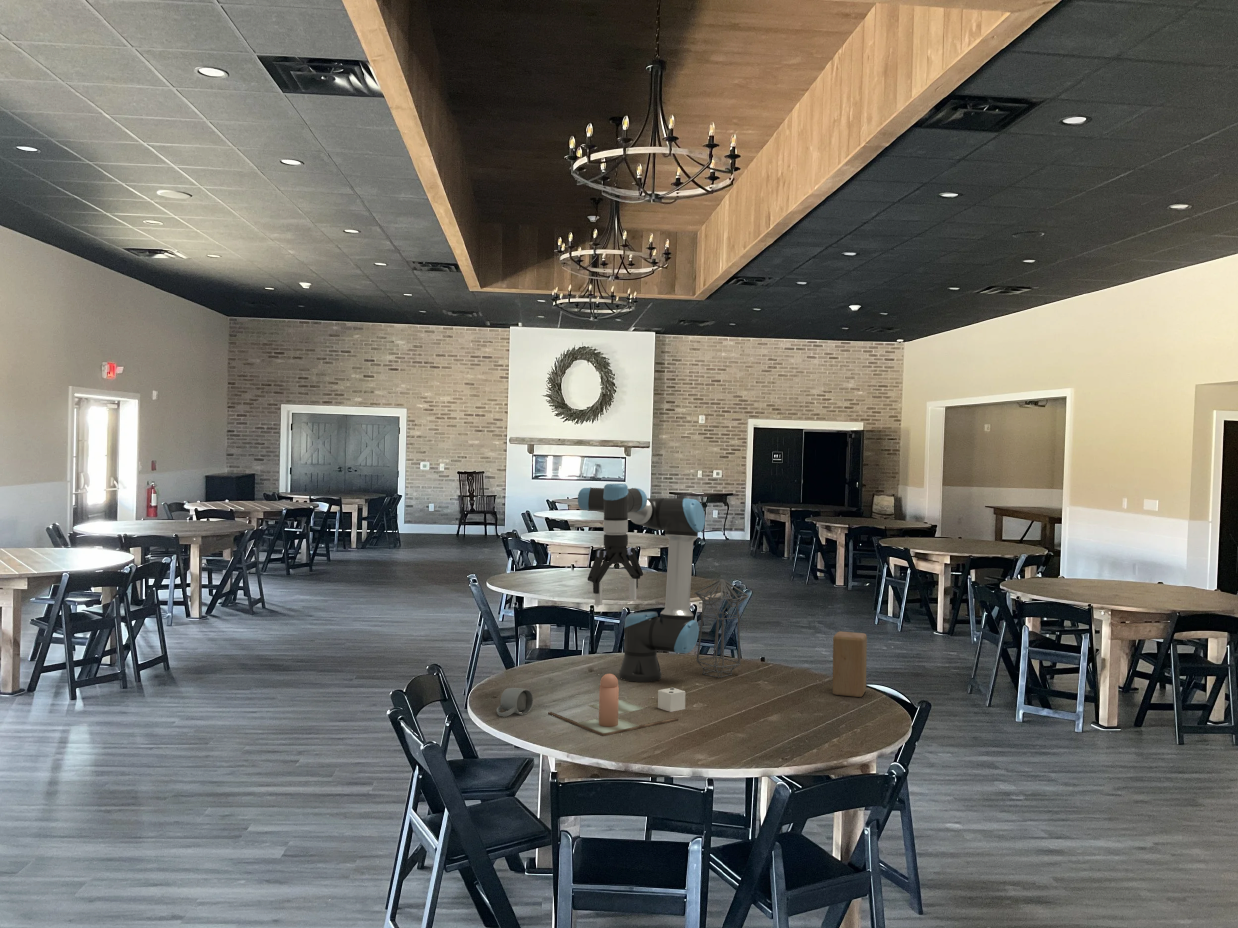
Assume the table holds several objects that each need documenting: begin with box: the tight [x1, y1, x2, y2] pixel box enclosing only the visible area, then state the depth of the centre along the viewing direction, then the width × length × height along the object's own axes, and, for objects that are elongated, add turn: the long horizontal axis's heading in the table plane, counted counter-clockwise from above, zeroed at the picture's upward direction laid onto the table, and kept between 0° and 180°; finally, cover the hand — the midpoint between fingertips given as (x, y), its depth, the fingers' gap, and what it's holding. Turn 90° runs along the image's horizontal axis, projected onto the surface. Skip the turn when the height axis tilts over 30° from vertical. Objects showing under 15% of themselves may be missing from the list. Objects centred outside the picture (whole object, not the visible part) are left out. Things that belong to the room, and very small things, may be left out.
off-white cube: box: [657, 687, 686, 713], centre depth 288 cm, size 6×6×6 cm
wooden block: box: [832, 630, 868, 698], centre depth 314 cm, size 10×10×20 cm
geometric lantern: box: [693, 578, 749, 679], centre depth 339 cm, size 16×16×35 cm
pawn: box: [598, 673, 620, 727], centre depth 270 cm, size 6×6×15 cm
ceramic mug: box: [496, 687, 534, 718], centre depth 282 cm, size 11×8×8 cm
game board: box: [547, 699, 679, 737], centre depth 279 cm, size 28×28×1 cm
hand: (615, 601), depth 288 cm, fingers open, 13 cm apart
